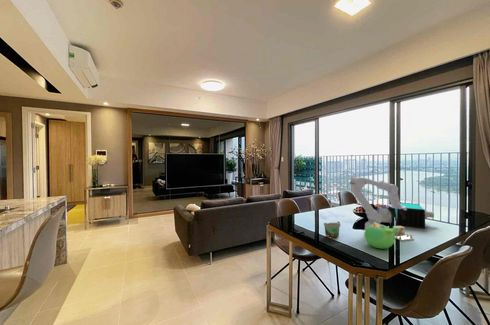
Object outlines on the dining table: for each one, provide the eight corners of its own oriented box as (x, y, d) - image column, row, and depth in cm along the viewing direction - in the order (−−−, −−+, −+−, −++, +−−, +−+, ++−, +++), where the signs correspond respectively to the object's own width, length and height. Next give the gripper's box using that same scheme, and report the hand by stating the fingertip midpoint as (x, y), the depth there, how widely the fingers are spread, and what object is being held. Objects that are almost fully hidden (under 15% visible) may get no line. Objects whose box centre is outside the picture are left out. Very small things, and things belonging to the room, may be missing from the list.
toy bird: (369, 240, 145) (368, 218, 145) (399, 246, 133) (399, 223, 133) (361, 248, 132) (360, 224, 132) (394, 256, 120) (393, 230, 120)
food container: (329, 239, 146) (329, 225, 146) (323, 236, 152) (323, 222, 152) (344, 237, 149) (344, 223, 149) (338, 234, 155) (338, 221, 155)
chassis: (401, 241, 142) (401, 237, 142) (393, 237, 148) (393, 234, 148) (414, 239, 144) (414, 236, 144) (405, 236, 150) (405, 233, 150)
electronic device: (437, 230, 162) (437, 210, 162) (397, 225, 175) (397, 207, 175) (430, 222, 184) (430, 204, 184) (394, 218, 197) (394, 202, 197)
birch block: (397, 234, 154) (397, 228, 154) (392, 233, 158) (392, 226, 158) (404, 234, 155) (404, 227, 155) (399, 232, 159) (399, 225, 159)
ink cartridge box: (389, 221, 189) (388, 204, 189) (392, 222, 183) (391, 205, 183) (376, 220, 191) (376, 204, 191) (379, 222, 185) (379, 205, 185)
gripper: (408, 199, 151) (413, 218, 151) (390, 197, 165) (395, 214, 165) (400, 202, 149) (405, 221, 149) (383, 200, 163) (387, 217, 164)
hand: (399, 217), depth 157 cm, fingers open, 7 cm apart
